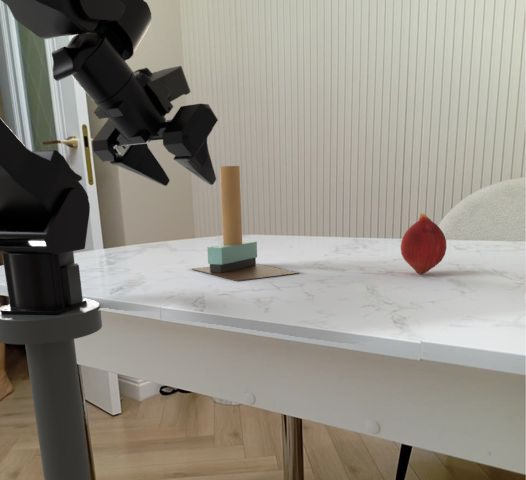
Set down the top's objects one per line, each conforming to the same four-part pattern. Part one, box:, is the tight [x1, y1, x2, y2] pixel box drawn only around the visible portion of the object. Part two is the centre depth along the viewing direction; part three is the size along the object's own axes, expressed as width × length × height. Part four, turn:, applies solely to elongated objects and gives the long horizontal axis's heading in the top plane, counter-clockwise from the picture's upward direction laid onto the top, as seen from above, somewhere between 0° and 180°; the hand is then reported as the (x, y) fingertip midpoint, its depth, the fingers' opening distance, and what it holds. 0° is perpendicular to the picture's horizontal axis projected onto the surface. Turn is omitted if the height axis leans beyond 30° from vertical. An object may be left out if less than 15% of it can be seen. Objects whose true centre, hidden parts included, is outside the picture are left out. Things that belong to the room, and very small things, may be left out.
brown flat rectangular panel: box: [191, 263, 300, 282], centre depth 86 cm, size 14×10×1 cm
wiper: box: [206, 165, 258, 273], centre depth 86 cm, size 9×3×15 cm, turn 147°
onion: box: [400, 212, 447, 275], centre depth 78 cm, size 6×6×8 cm
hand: (189, 182), depth 79 cm, fingers open, 9 cm apart
